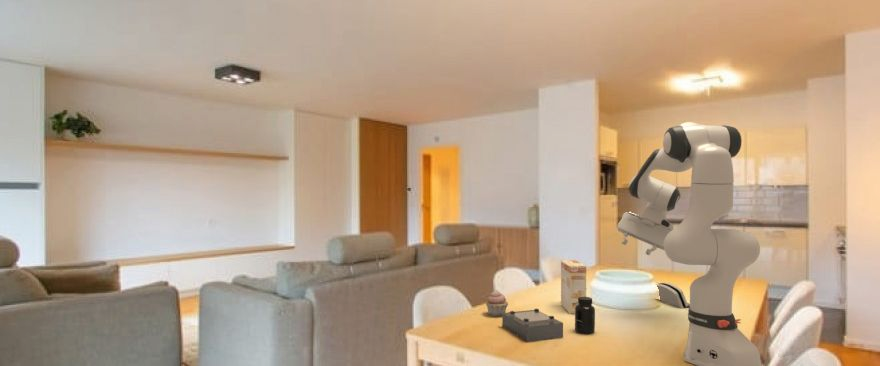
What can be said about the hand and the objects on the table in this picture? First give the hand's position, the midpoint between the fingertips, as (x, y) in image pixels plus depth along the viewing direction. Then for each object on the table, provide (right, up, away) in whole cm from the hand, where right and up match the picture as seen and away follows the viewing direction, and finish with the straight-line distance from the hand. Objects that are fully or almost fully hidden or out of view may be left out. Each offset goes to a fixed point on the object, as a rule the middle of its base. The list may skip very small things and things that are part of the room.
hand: (635, 249), depth 187 cm
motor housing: (-45, -27, -17) cm, 55 cm away
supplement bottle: (-26, -27, -18) cm, 42 cm away
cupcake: (-54, -27, +3) cm, 61 cm away
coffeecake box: (-21, -27, +12) cm, 36 cm away
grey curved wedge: (+24, -27, +21) cm, 42 cm away
